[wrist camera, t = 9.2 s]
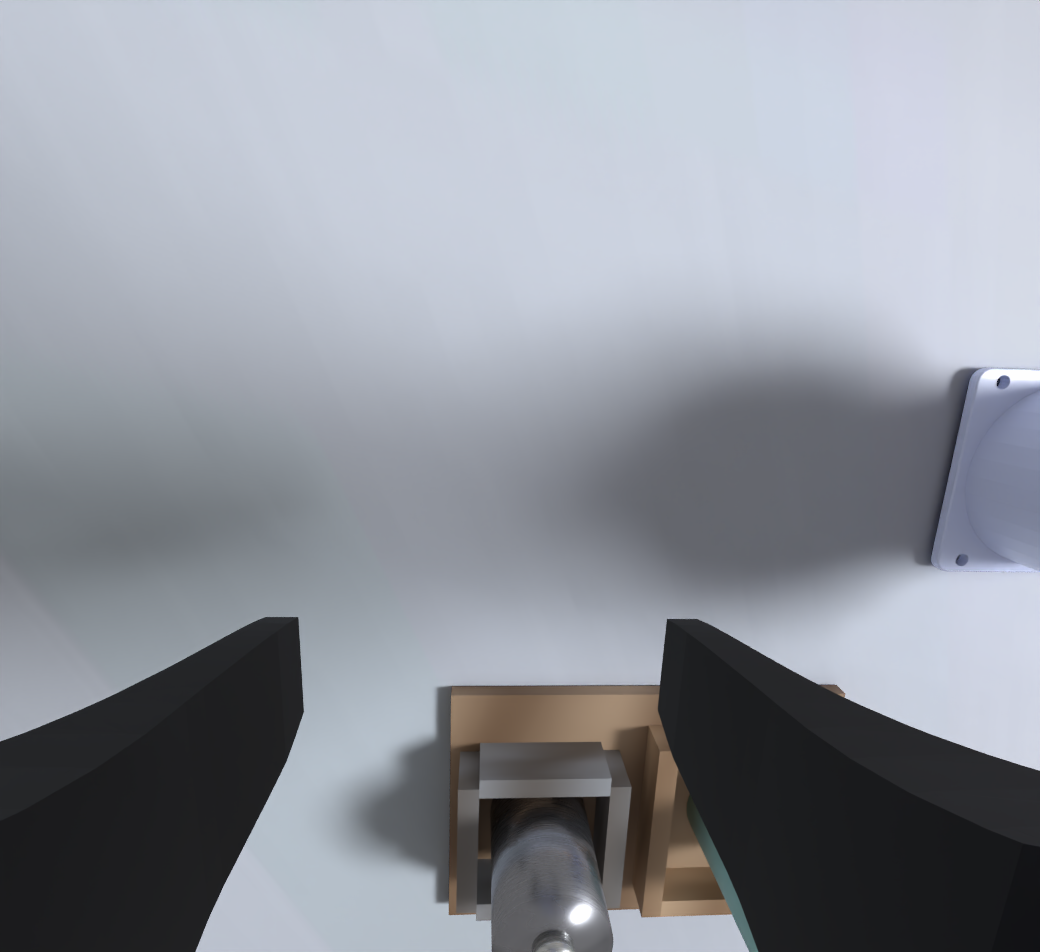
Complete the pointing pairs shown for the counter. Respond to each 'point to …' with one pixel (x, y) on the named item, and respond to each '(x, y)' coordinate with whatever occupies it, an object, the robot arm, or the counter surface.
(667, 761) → the wooden battery tray
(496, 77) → the counter surface
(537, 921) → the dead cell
